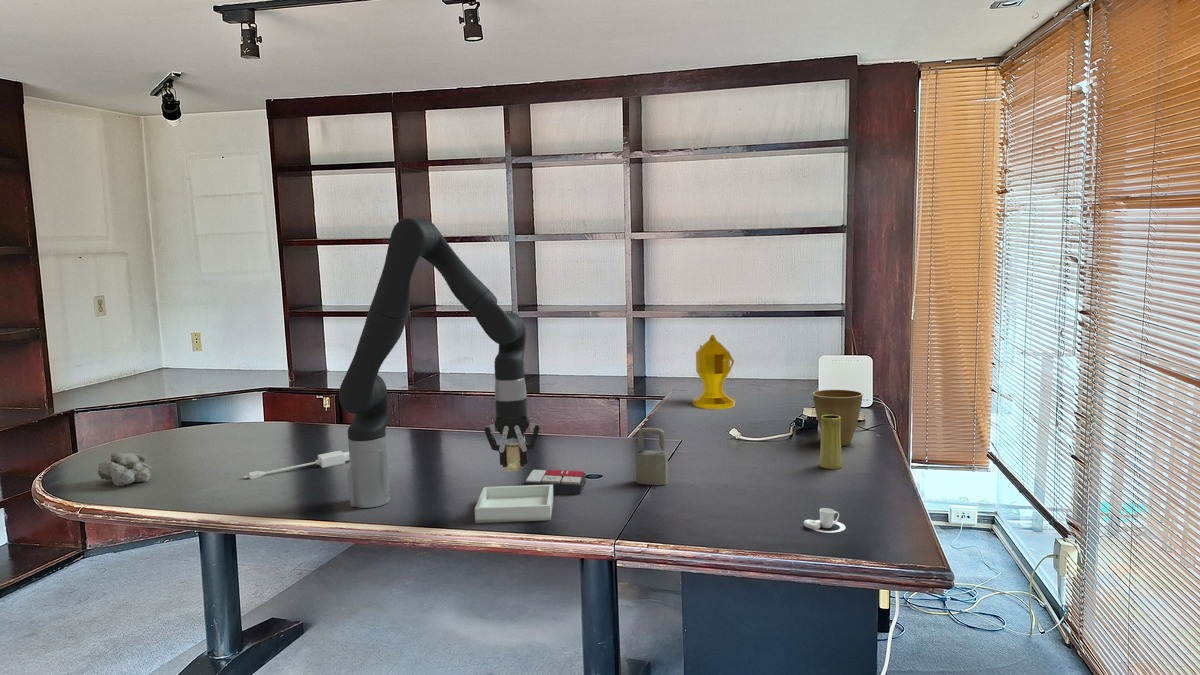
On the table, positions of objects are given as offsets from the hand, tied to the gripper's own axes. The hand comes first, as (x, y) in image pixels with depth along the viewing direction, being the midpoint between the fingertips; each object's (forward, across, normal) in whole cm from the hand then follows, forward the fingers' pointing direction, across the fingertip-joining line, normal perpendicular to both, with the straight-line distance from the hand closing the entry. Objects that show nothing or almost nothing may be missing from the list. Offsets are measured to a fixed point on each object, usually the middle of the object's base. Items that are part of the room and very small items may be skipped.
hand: (514, 465), depth 189 cm
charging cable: (+11, -68, +45) cm, 82 cm away
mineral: (+11, -116, +37) cm, 122 cm away
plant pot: (+12, +96, +52) cm, 110 cm away
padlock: (+11, +35, +18) cm, 41 cm away
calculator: (+12, +9, +17) cm, 22 cm away
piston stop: (+1, 0, 0) cm, 1 cm away
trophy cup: (+11, +69, +119) cm, 138 cm away
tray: (+11, 0, 0) cm, 11 cm away
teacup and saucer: (+12, +69, -17) cm, 72 cm away
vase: (+12, +86, +27) cm, 91 cm away
